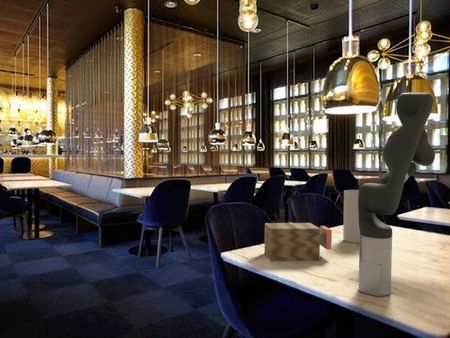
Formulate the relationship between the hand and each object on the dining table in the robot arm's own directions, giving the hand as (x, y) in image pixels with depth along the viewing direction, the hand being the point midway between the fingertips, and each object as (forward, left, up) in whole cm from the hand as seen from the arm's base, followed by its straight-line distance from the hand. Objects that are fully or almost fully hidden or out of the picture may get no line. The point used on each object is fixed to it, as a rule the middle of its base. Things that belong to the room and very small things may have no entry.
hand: (364, 205), depth 140 cm
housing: (-17, +24, -22) cm, 36 cm away
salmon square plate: (-13, +20, -18) cm, 30 cm away
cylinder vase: (+30, +14, -22) cm, 40 cm away
